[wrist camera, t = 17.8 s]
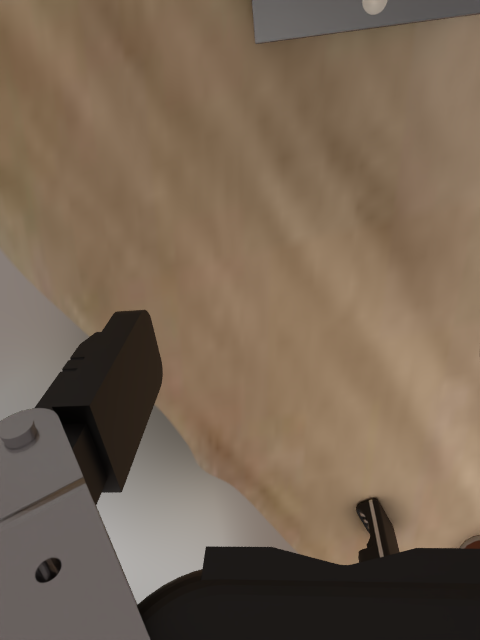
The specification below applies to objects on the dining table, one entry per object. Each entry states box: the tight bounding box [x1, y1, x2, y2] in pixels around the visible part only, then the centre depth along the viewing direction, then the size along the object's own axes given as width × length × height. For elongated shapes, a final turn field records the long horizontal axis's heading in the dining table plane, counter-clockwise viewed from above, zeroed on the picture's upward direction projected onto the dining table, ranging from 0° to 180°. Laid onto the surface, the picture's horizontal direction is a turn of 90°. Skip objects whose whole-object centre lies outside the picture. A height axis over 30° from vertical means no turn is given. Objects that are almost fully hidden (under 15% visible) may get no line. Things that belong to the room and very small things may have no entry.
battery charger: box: [356, 499, 400, 563], centre depth 52 cm, size 7×4×11 cm, turn 28°
